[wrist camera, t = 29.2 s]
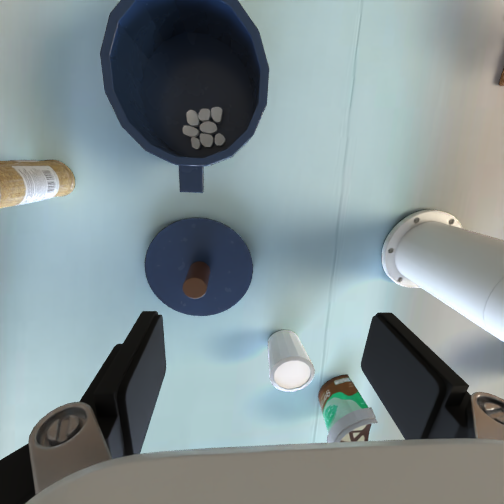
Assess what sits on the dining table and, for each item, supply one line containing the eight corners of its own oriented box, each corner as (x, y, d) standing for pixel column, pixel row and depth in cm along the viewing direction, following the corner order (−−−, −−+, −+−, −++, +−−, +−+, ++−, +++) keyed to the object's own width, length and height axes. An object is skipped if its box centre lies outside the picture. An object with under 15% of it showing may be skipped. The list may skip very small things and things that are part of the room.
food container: (316, 369, 46) (338, 421, 37) (349, 368, 47) (378, 419, 37) (308, 417, 50) (326, 475, 41) (338, 416, 51) (362, 473, 42)
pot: (264, 3, 28) (277, -60, 20) (253, 188, 34) (260, 196, 27) (127, -13, 27) (82, -88, 19) (144, 183, 33) (116, 189, 25)
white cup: (269, 323, 42) (276, 353, 36) (307, 330, 43) (321, 360, 37) (259, 356, 44) (264, 390, 38) (296, 361, 45) (307, 395, 39)
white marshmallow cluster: (223, 106, 29) (226, 147, 31) (223, 108, 31) (226, 148, 32) (179, 107, 29) (184, 149, 30) (182, 110, 30) (186, 149, 32)
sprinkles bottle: (40, 154, 31) (-91, 149, 19) (79, 167, 32) (-21, 171, 19) (37, 190, 32) (-87, 208, 20) (74, 201, 33) (-22, 226, 21)
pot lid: (255, 218, 36) (260, 230, 30) (249, 312, 41) (252, 339, 35) (142, 214, 35) (122, 225, 28) (151, 311, 40) (136, 339, 34)
